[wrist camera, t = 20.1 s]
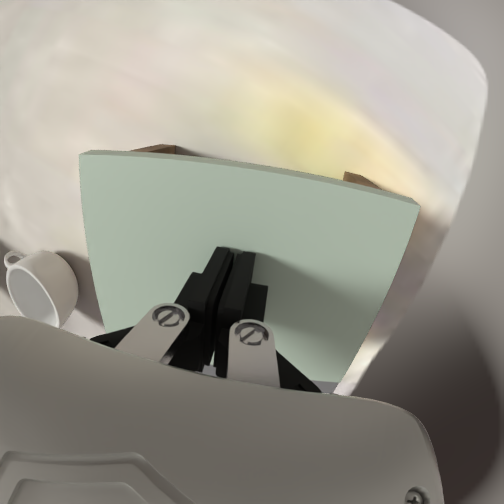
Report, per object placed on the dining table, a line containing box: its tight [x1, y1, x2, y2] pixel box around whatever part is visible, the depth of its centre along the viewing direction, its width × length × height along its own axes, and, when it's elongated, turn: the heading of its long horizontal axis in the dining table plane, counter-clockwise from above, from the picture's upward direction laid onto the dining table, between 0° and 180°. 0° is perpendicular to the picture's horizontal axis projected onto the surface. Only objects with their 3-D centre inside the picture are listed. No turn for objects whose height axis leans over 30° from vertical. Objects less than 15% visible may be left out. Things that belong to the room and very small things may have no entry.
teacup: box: [4, 251, 78, 328], centre depth 23 cm, size 10×8×5 cm
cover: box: [79, 150, 421, 394], centre depth 14 cm, size 12×14×1 cm
